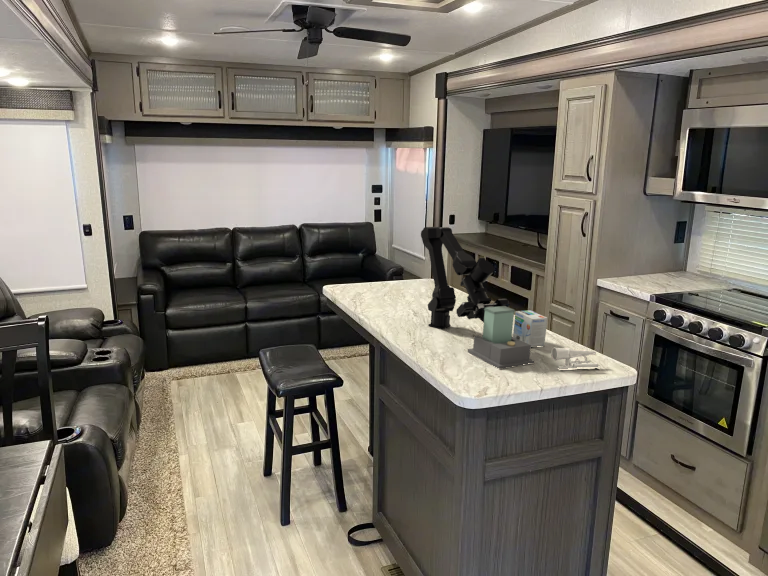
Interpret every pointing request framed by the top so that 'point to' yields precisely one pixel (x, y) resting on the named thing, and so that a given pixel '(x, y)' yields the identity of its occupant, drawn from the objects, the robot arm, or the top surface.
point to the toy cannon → (570, 353)
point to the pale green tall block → (498, 324)
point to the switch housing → (501, 352)
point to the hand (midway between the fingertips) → (492, 329)
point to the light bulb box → (530, 328)
